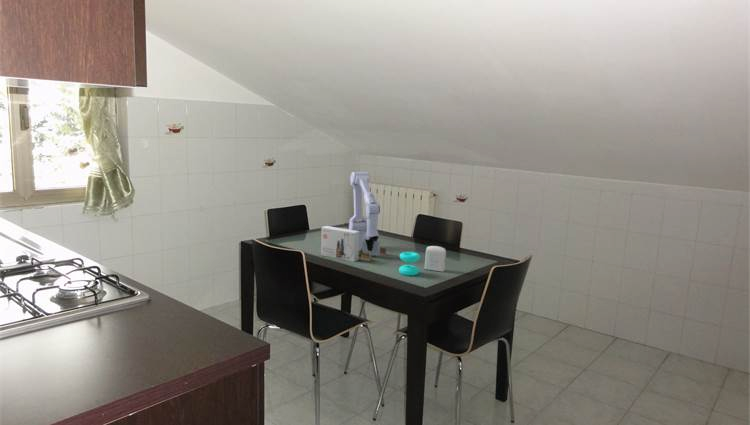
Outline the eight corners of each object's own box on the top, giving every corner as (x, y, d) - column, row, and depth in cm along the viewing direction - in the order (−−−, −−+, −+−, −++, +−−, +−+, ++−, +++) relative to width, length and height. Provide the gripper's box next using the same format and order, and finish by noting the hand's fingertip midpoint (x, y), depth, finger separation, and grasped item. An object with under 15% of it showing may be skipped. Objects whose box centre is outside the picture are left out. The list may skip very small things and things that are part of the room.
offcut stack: (362, 258, 289) (362, 250, 288) (371, 259, 287) (371, 251, 286) (360, 259, 286) (361, 251, 285) (369, 260, 285) (369, 252, 284)
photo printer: (445, 270, 273) (446, 246, 271) (443, 272, 269) (445, 248, 267) (425, 267, 276) (426, 244, 274) (423, 269, 272) (425, 246, 270)
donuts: (421, 252, 267) (419, 257, 257) (419, 271, 269) (418, 277, 259) (401, 250, 269) (398, 255, 259) (400, 269, 270) (397, 275, 261)
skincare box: (320, 255, 291) (320, 227, 288) (325, 253, 295) (326, 225, 293) (353, 262, 281) (354, 232, 278) (359, 259, 286) (360, 230, 283)
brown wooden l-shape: (363, 251, 303) (363, 244, 303) (385, 254, 299) (386, 247, 298) (355, 256, 292) (355, 249, 292) (378, 259, 288) (379, 252, 287)
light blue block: (364, 251, 296) (364, 239, 295) (379, 254, 293) (380, 241, 292) (362, 253, 293) (362, 240, 292) (377, 255, 290) (378, 242, 289)
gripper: (374, 228, 282) (373, 253, 285) (383, 224, 296) (382, 247, 298) (361, 227, 285) (360, 252, 287) (371, 222, 298) (370, 246, 301)
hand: (371, 249), depth 293 cm, fingers closed on light blue block, 3 cm apart
